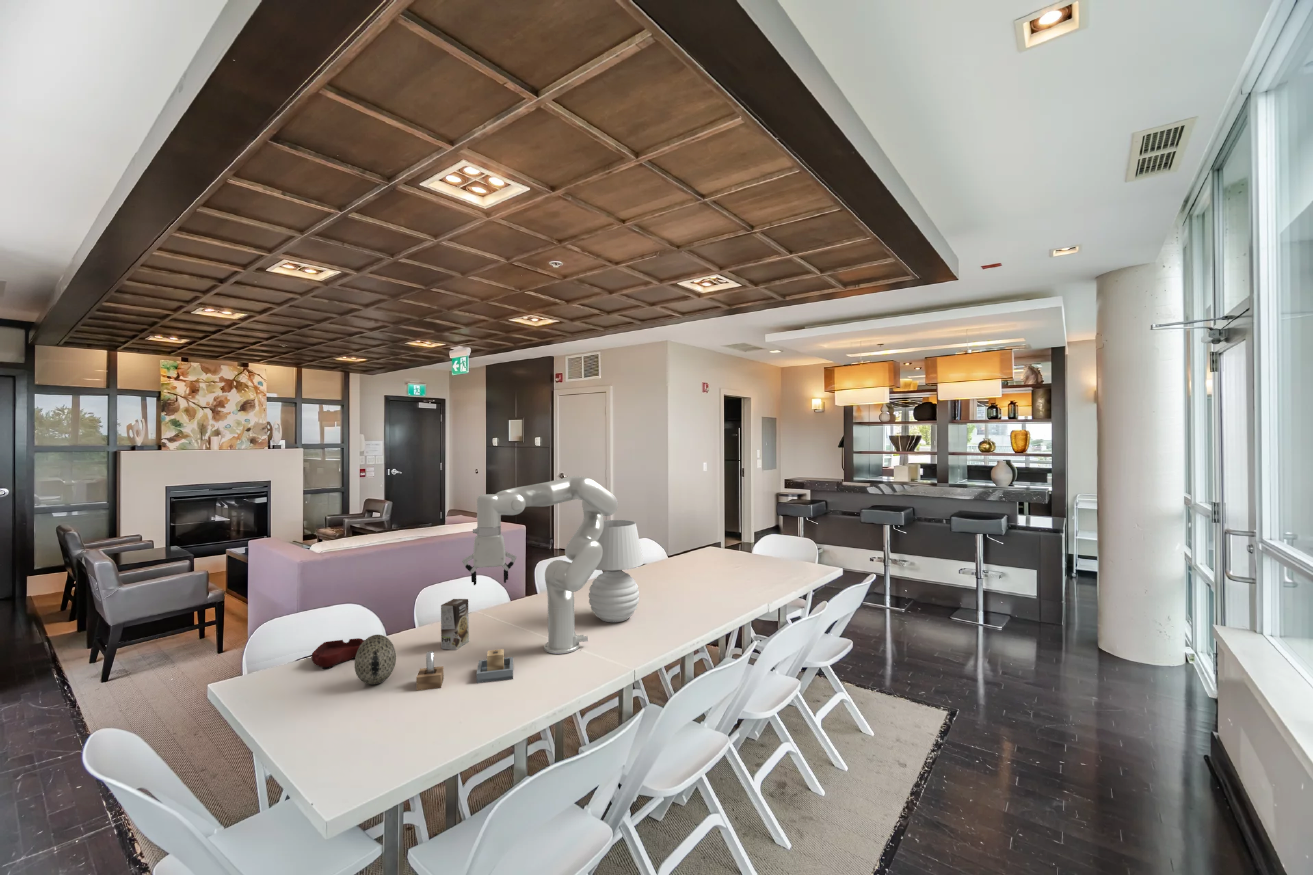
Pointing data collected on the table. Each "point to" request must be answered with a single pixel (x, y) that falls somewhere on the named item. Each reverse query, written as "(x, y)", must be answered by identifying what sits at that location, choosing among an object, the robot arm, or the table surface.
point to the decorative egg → (375, 659)
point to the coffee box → (454, 624)
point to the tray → (495, 671)
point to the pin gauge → (430, 662)
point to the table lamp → (616, 572)
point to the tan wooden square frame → (430, 678)
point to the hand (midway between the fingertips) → (490, 583)
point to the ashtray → (335, 652)
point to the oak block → (495, 660)
